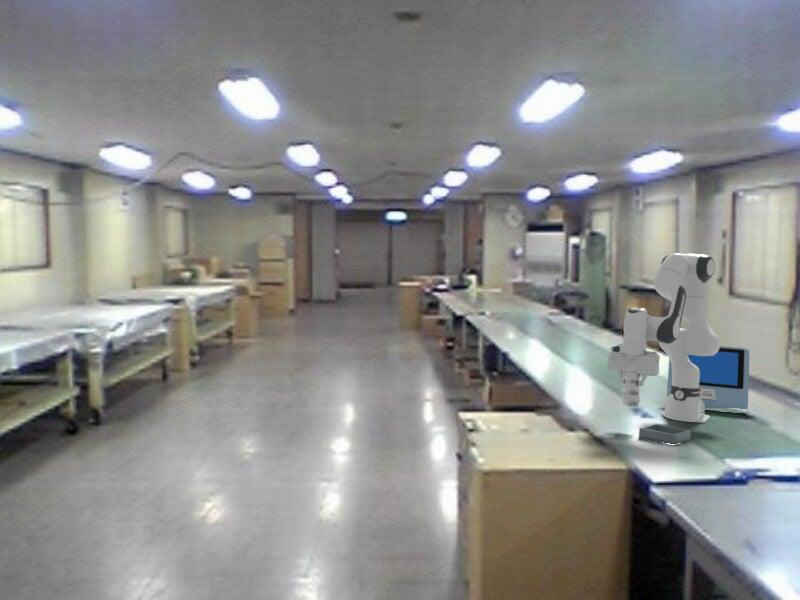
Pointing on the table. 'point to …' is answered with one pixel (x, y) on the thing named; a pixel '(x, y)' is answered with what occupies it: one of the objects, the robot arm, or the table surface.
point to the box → (664, 434)
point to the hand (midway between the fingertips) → (631, 384)
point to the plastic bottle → (631, 385)
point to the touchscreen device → (722, 378)
